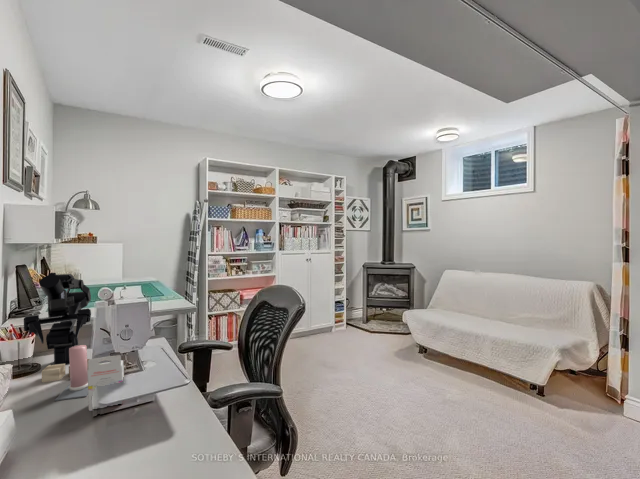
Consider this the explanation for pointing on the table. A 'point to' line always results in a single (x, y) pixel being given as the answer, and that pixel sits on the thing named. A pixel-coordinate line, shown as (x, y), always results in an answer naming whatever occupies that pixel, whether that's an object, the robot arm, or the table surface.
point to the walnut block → (69, 367)
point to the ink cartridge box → (103, 373)
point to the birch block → (53, 372)
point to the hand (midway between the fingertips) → (60, 340)
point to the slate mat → (72, 394)
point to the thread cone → (78, 368)
